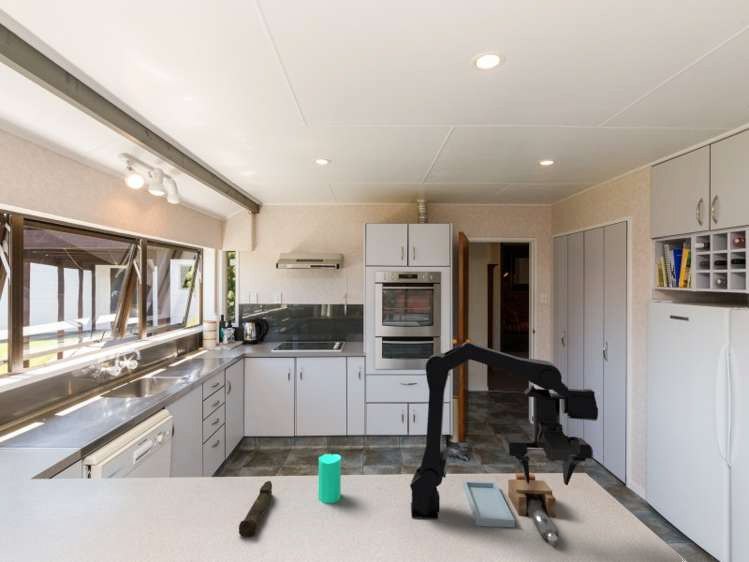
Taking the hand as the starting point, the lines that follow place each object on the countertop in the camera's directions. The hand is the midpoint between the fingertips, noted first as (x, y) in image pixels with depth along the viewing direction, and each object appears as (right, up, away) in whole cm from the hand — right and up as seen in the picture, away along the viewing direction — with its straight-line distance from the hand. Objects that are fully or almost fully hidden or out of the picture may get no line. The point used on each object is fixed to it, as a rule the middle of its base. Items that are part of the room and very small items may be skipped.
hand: (546, 483), depth 91 cm
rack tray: (-11, -11, +11) cm, 19 cm away
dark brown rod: (-69, -11, +6) cm, 70 cm away
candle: (-52, -11, +14) cm, 55 cm away
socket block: (+1, -11, +11) cm, 15 cm away
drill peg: (0, -11, 0) cm, 11 cm away
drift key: (+1, -11, +11) cm, 16 cm away
